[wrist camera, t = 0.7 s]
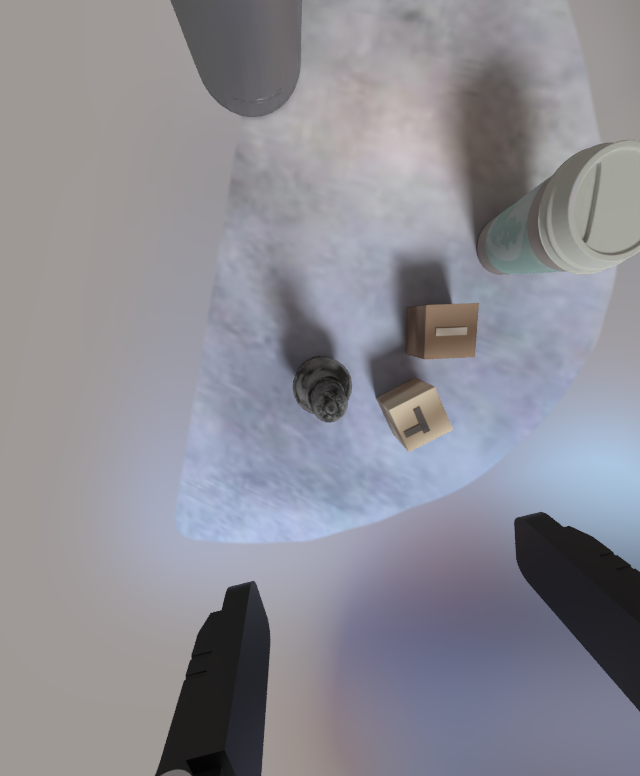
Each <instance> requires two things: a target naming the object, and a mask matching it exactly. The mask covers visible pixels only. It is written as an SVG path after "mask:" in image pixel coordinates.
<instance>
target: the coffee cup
mask: <svg viewBox="0 0 640 776" xmlns="http://www.w3.org/2000/svg"><path fill="white" fill-rule="evenodd" d="M638 252H640V141H635V140H623V141H618V142H615V143H603V144H599V145H596V146H593V147H591V148H588V149H585V150H582V151H580V152H578V153H576V154H575V155H573V156H572V157H570V158H569V159H568V160H566V161H565V162H564V163H563V164H562V165H561V166H560V167H559V168H558V170H557V171H556V172H555V173H554V175H552V176H551V177H550V178H548V179H547V180H545V181H544V182H543V183H541V184H540V185H539V186H537V187H536V188H535V189H533V190H532V191H530V192H529V193H528V194H526V195H525V196H524V197H522V198H521V199H520V200H518V201H517V202H515V203H514V204H513V205H511V206H510V207H509V208H507V209H506V210H504V211H503V212H502V213H500V214H499V215H498V216H496V217H495V218H494V219H492V220H491V221H490V222H489V223H488V224H487V225H486V226H485V227H484V228H483V230H482V232H481V233H480V236H479V239H478V244H477V253H478V257H479V260H480V262H481V264H482V265H483V267H484V268H485V269H486V270H488V271H489V272H491V273H494V274H499V275H502V274H524V273H544V272H564V271H568V272H571V273H575V274H593V273H597V272H600V271H603V270H606V269H609V268H611V267H614V266H616V265H618V264H619V263H621V262H623V261H624V260H625V259H627V258H629V257H631V256H633V255H635V254H637V253H638Z"/></svg>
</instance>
